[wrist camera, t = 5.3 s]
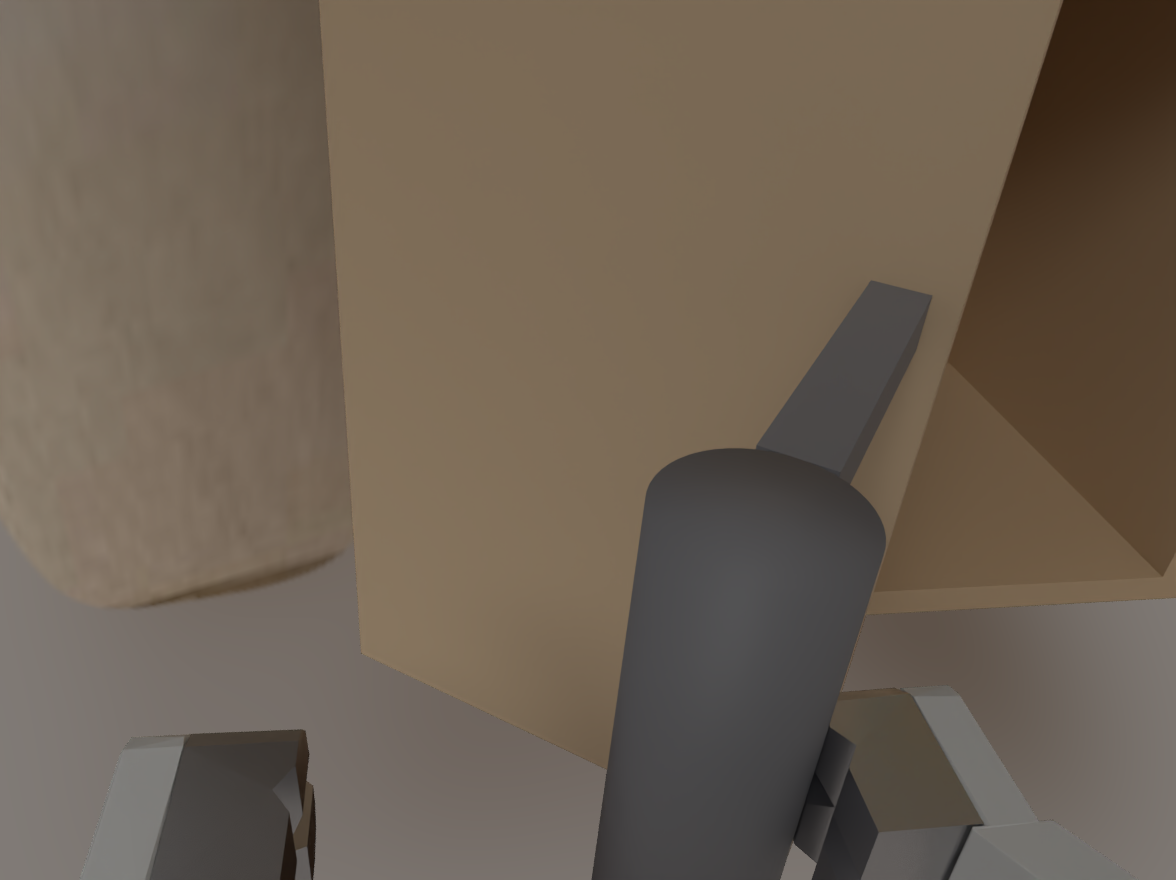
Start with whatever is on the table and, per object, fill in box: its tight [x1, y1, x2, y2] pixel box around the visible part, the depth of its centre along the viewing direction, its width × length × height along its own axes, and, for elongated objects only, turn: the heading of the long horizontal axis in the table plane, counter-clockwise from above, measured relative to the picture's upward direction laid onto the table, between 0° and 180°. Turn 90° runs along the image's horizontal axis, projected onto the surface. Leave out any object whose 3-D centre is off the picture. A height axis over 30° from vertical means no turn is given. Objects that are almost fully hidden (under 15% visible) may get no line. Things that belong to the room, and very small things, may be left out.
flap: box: [319, 0, 1063, 880], centre depth 13 cm, size 17×10×7 cm
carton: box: [866, 0, 1176, 615], centre depth 26 cm, size 18×22×14 cm
